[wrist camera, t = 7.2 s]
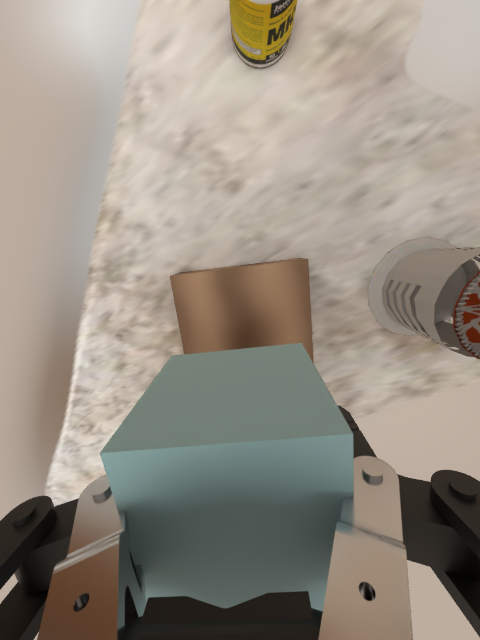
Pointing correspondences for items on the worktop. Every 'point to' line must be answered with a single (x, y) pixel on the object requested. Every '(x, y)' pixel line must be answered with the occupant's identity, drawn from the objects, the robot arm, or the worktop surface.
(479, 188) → the worktop surface
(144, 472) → the teal cube
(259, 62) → the supplement bottle
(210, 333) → the walnut block
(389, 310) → the french press
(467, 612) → the robot arm
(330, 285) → the worktop surface
